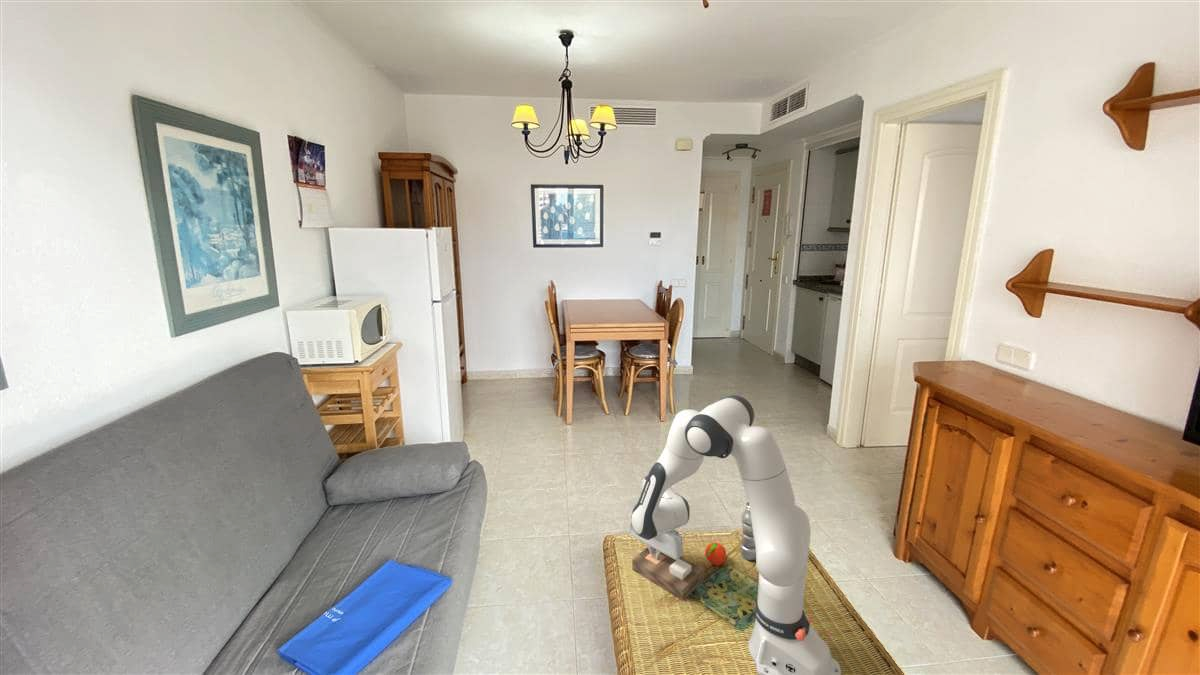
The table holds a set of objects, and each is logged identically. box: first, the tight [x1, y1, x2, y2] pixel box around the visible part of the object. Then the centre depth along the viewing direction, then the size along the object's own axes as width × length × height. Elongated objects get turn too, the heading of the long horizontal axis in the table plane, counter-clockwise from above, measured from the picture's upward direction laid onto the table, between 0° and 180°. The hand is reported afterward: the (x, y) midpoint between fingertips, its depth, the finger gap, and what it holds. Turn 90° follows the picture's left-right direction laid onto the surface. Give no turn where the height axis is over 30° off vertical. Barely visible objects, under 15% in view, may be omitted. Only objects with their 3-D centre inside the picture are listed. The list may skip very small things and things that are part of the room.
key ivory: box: [669, 559, 692, 580], centre depth 152 cm, size 5×5×3 cm
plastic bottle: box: [739, 501, 756, 561], centre depth 162 cm, size 6×7×20 cm
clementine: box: [704, 542, 727, 566], centre depth 160 cm, size 8×7×7 cm
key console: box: [631, 547, 705, 602], centre depth 156 cm, size 20×12×4 cm, turn 46°
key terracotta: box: [645, 554, 666, 565], centre depth 159 cm, size 5×5×3 cm
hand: (655, 557), depth 159 cm, fingers closed, pressing on key terracotta
